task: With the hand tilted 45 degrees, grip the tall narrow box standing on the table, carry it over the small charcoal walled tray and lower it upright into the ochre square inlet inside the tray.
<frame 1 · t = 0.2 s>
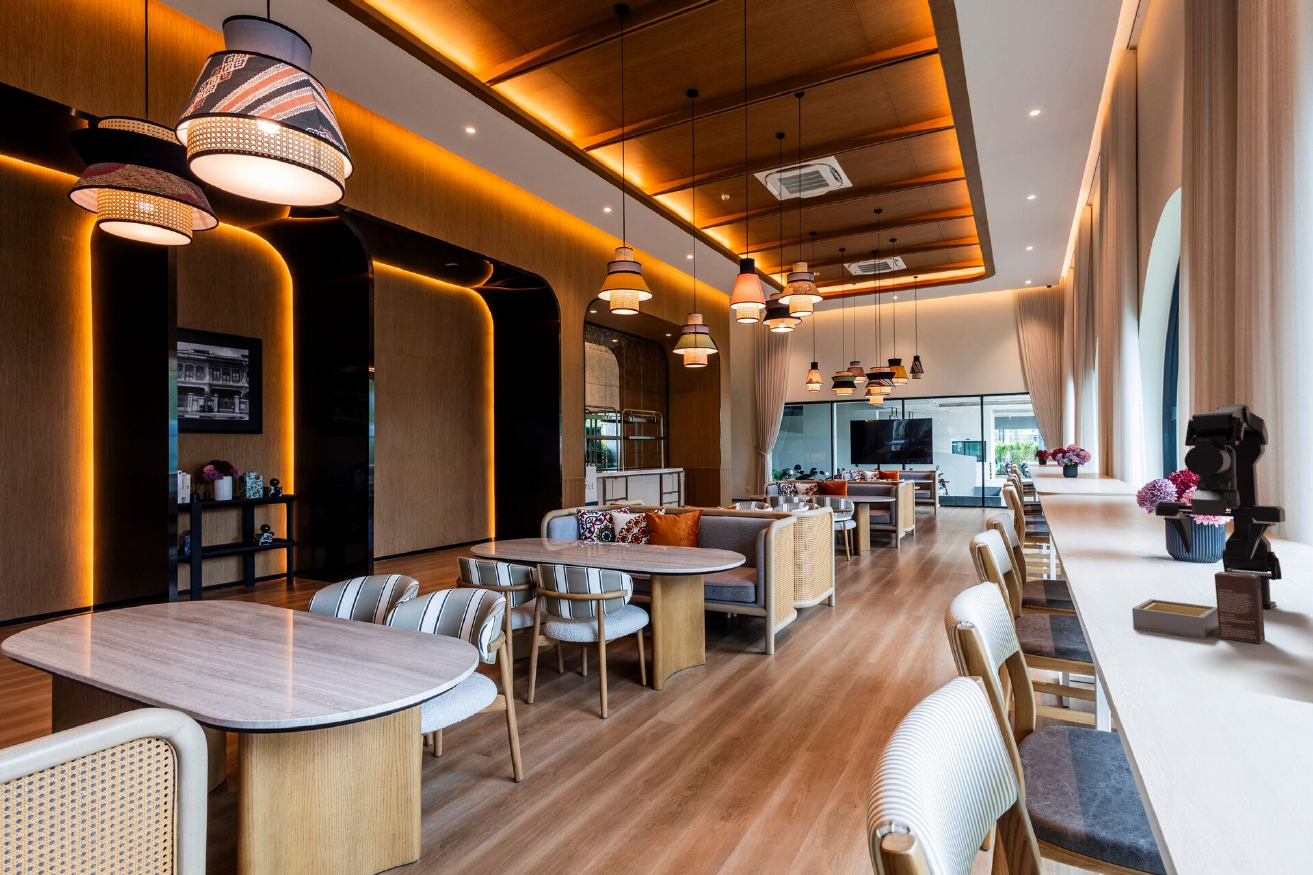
hand: (1218, 555, 129), 14 cm above the counter, tool pointing down, fingers open, 9 cm apart
box: (1241, 640, 122), on the counter
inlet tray: (1176, 628, 131), on the counter
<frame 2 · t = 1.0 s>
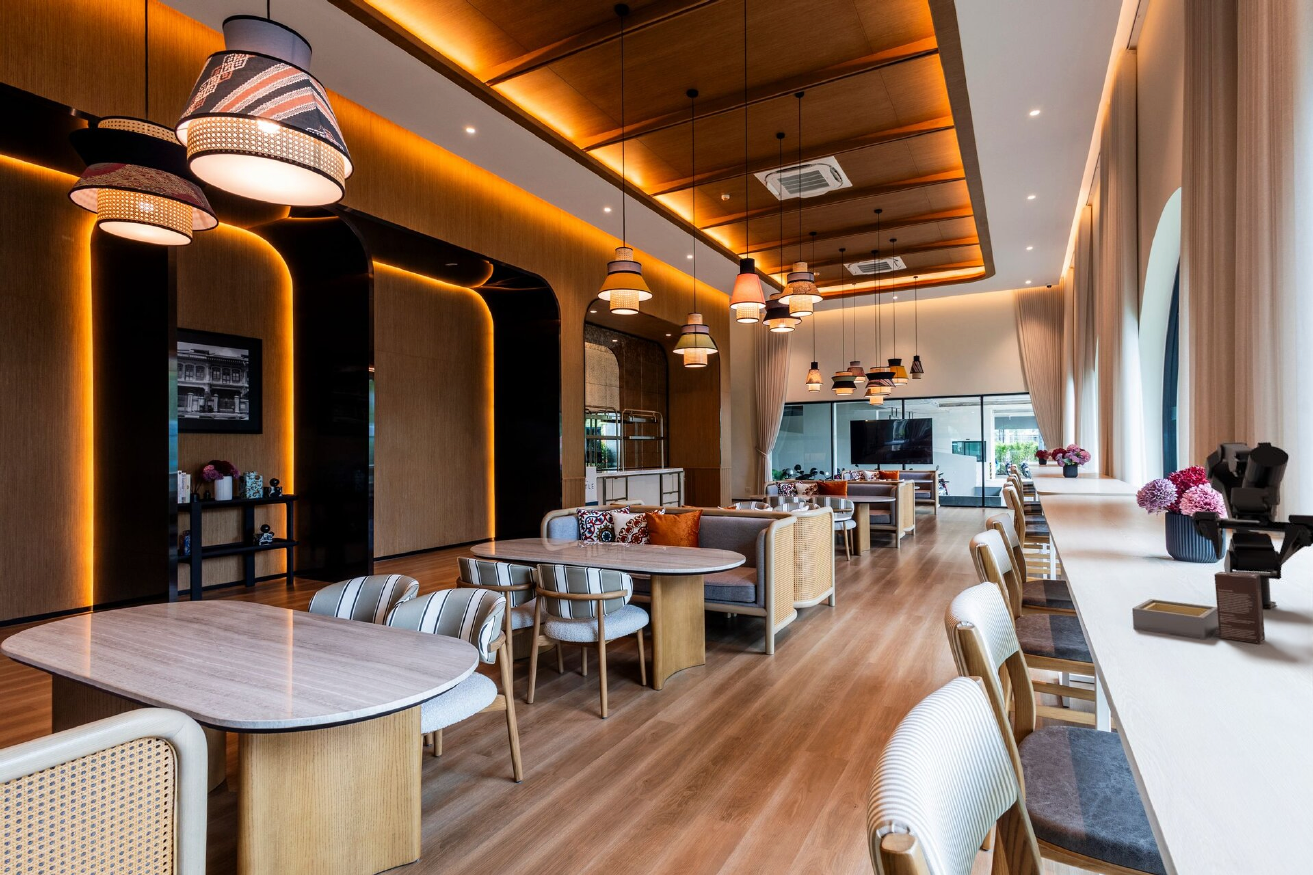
hand: (1248, 560, 128), 13 cm above the counter, tool tilted 45°, fingers open, 9 cm apart
nothing on the counter moved.
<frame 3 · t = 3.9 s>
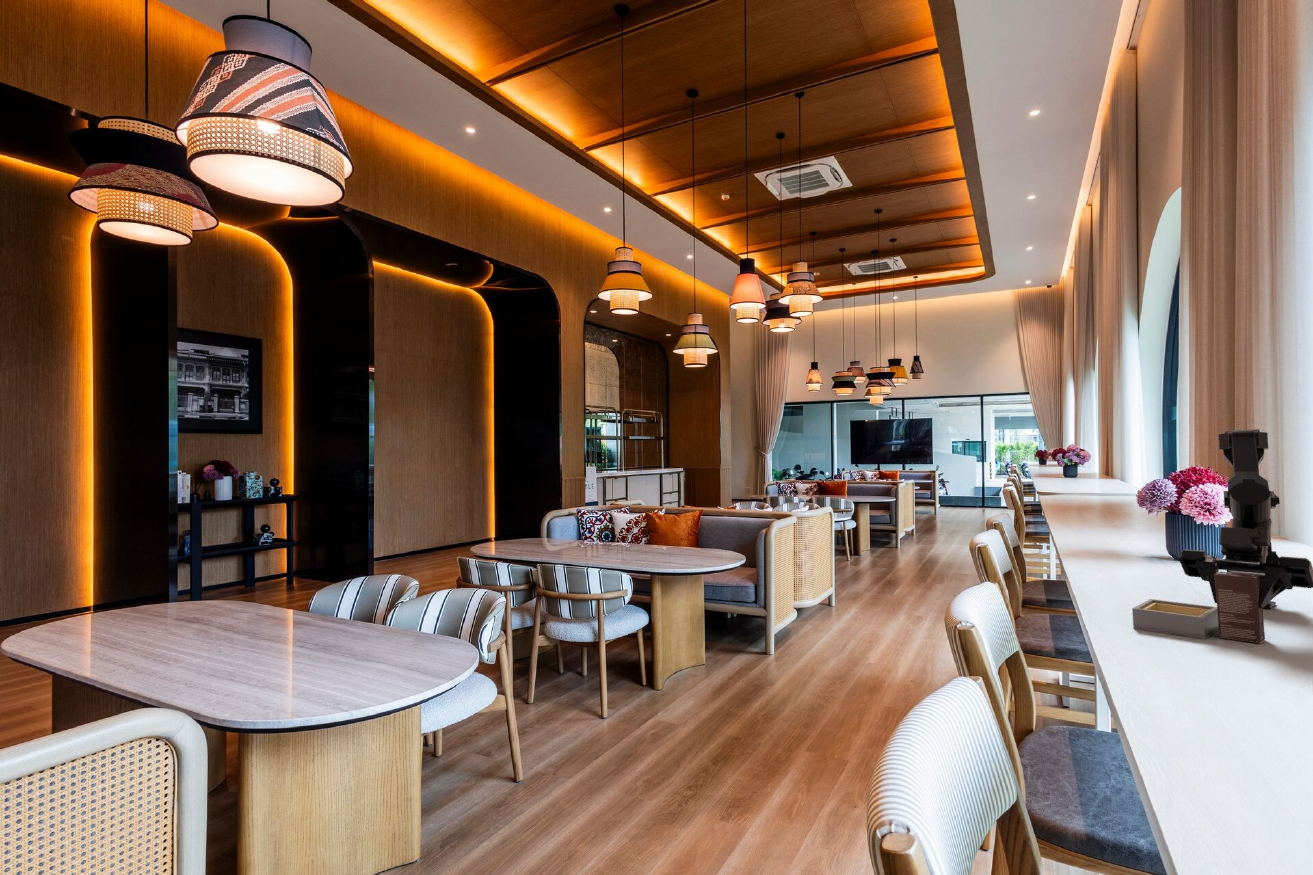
hand: (1237, 604, 122), 7 cm above the counter, tool tilted 45°, fingers closed on box, 6 cm apart
box: (1241, 640, 122), on the counter, touching gripper
when the fingers open (8 cm above the counter, at t = 7.9 s): box stays where it is, resting on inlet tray.
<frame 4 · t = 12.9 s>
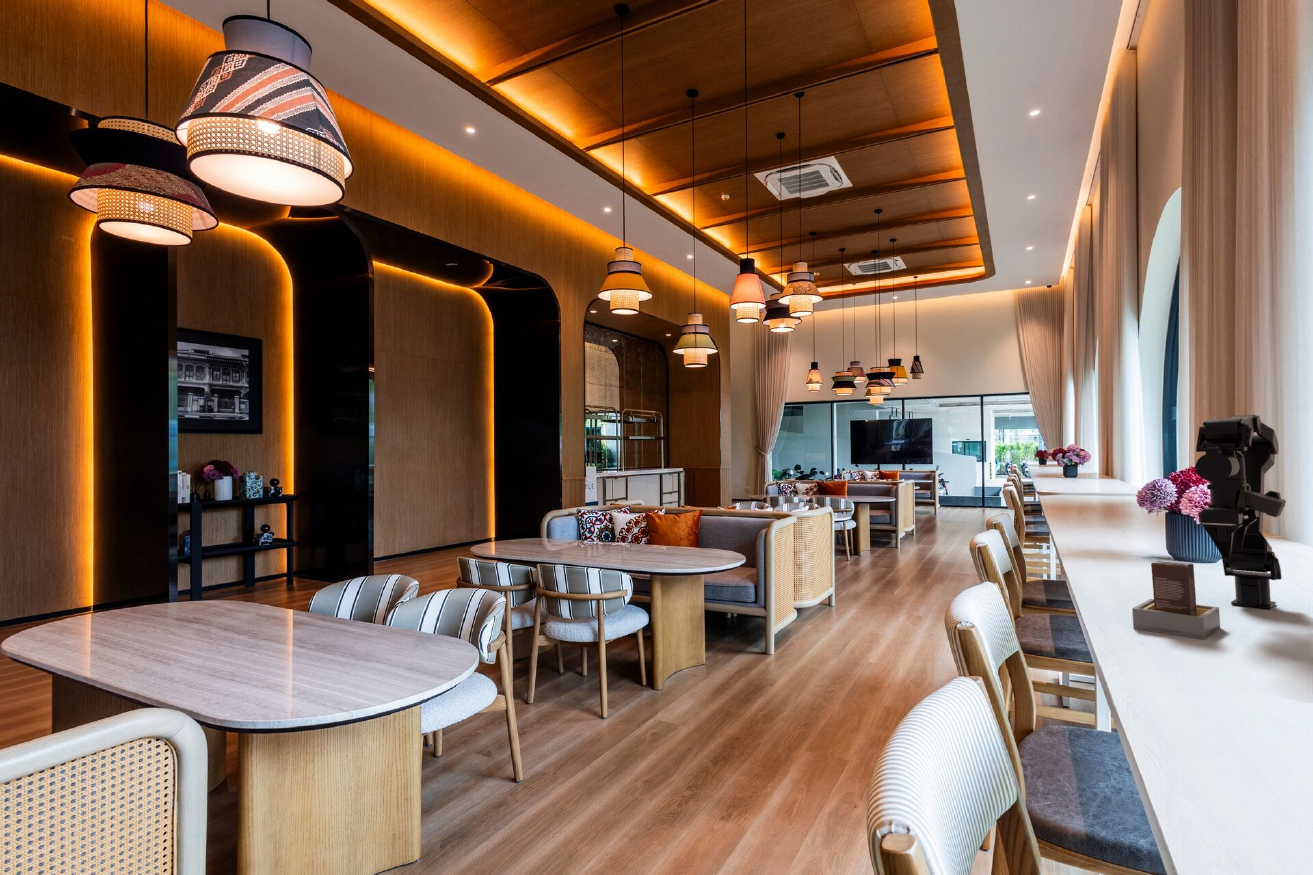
hand: (1231, 554, 136), 13 cm above the counter, tool pointing down, fingers open, 9 cm apart
box: (1176, 624, 131), point 1 cm above the counter, touching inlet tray
at the end: box 0.0 cm off-centre on the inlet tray, point 0.6 cm above the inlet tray's base; box tilted 0°; the gripper is holding nothing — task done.
